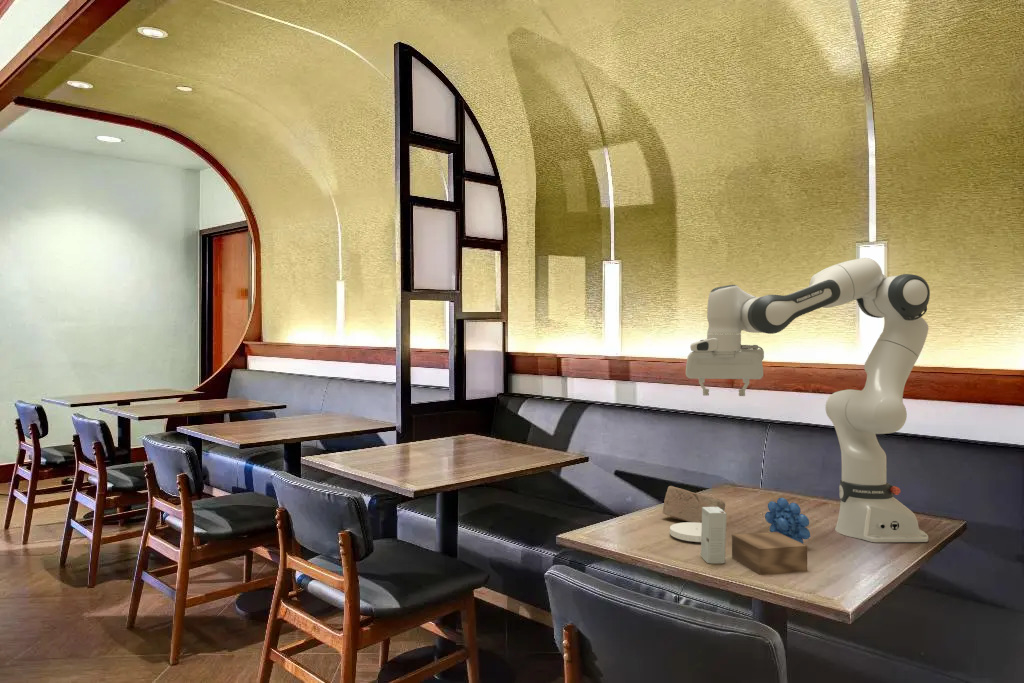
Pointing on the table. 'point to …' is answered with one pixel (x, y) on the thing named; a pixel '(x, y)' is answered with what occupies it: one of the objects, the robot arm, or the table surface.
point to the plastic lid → (687, 531)
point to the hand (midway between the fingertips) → (723, 395)
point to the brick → (688, 504)
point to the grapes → (787, 520)
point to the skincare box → (713, 535)
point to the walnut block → (769, 553)
